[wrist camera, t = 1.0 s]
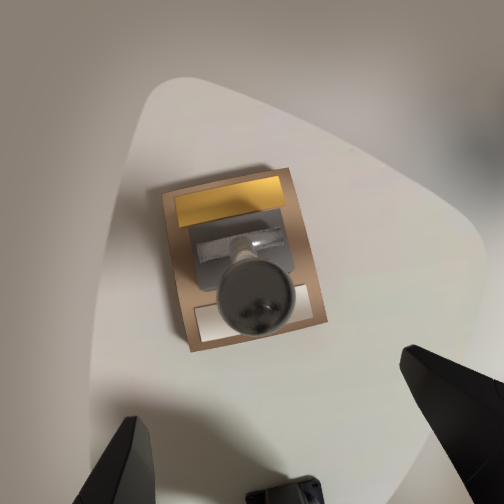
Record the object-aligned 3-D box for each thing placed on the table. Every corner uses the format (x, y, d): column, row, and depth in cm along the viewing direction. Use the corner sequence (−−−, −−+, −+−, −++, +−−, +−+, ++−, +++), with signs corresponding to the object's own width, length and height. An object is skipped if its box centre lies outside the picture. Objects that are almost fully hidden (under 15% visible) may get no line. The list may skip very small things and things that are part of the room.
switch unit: (321, 321, 24) (339, 323, 19) (195, 348, 23) (182, 358, 18) (285, 177, 26) (293, 149, 21) (167, 202, 25) (150, 178, 20)
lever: (283, 256, 20) (335, 334, 11) (204, 273, 20) (200, 365, 11) (275, 209, 19) (328, 258, 10) (193, 226, 19) (176, 291, 10)
